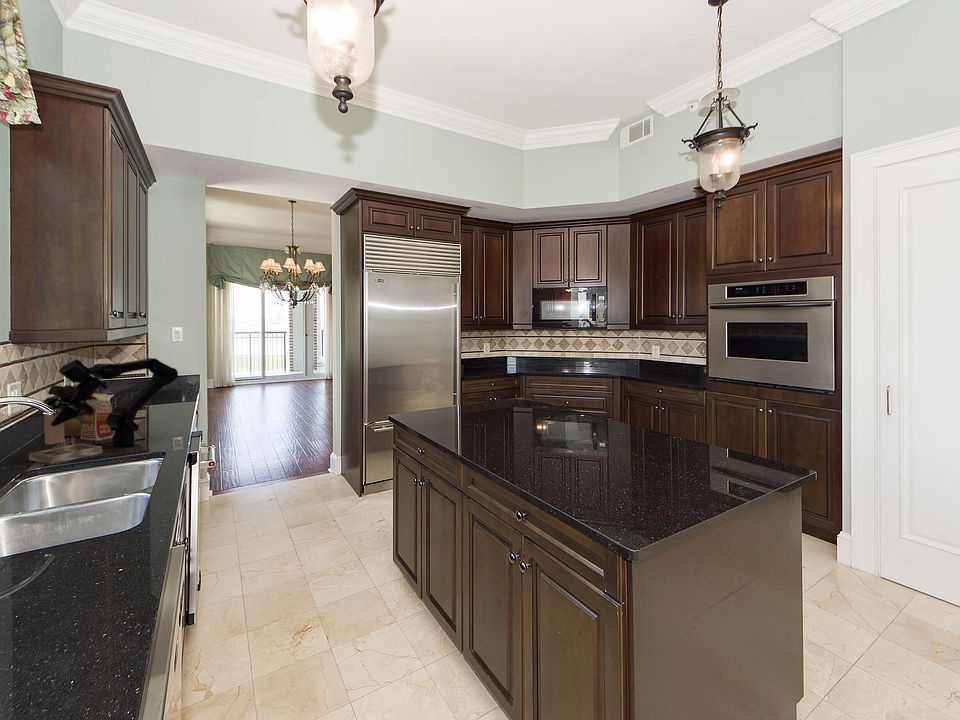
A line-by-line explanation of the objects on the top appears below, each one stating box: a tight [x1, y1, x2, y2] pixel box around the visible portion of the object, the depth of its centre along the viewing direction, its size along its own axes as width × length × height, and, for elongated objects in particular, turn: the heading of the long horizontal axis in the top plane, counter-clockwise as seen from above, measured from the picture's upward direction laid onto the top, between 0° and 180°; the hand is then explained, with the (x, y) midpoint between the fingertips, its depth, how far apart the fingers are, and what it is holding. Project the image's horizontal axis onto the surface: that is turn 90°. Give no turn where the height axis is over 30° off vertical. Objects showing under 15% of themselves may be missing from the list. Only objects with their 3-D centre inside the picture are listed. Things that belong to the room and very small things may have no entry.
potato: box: [64, 418, 82, 437], centre depth 202 cm, size 7×8×8 cm
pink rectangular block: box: [43, 408, 66, 445], centre depth 166 cm, size 4×2×12 cm, turn 161°
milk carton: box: [80, 392, 115, 442], centre depth 201 cm, size 9×9×20 cm
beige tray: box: [28, 443, 103, 465], centre depth 170 cm, size 16×12×3 cm
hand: (49, 425), depth 164 cm, fingers closed on pink rectangular block, 2 cm apart
